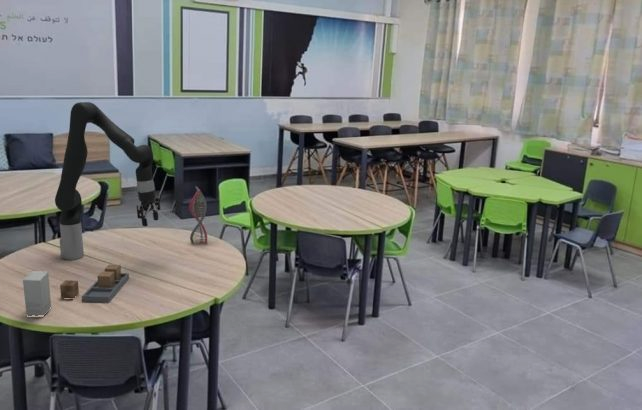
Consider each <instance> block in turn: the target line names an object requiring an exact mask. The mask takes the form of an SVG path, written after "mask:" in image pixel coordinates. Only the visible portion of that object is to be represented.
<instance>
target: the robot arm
mask: <svg viewBox="0 0 642 410" xmlns="http://www.w3.org/2000/svg"><path fill="white" fill-rule="evenodd" d="M87 124H93V125H95V126H97V127H98V128H99V129H101V130H102V131H103V133H104V134H105V135H106V137H107V138H108V140H109V141H110V142H111V143H112V144H114V145H116V146H117V147H118V148H120V149H121V150H122V151H123V153H124V154H125V155H126V157H128V158H129V160H130V161H132V162H134V163H136V164H139V165H138V166H137V167H136V168H135V178H136V189H137V197H138V201H140V205H136V214H137V219H140V220H141V224H142V225H141V226H143V227H148V219H147V217H148V215H149V212H151V211H152V218H153V220H154V221H159V211H160V210H161V203H160V198H159V197H157V196H156V187H155V181H154V179H153V171H152V169H153V161H154V153H153V149H152V148H151V146H149V145H148V144H142V145H138V146H137V145H135V139H134V138H133V137H132V136H131V135H130V134H129V133H127V132H126V131H125V130H123V129H122V128H120V127H119V126H118V125H117V124H116V123H114V122H113V121H112V120H111V119H110V117H108V116H107V115H106V114H105V113H104V112H103V111H102V110H101V109H100V108H99V107H98V106H97V105H96V104H95V103H93V102H90V101H83V102H76V103H74V104H73V105H72V107H71V110H70V117H69V129H68V136H67V143H66V148H65V152H64V157H63V164H62V170H61V176H60V181H59V183H58V187H57V191H56V193H55V196H54V202H55V206H56V208H57V209H58V210H59V211H61V215H60V216H59V219H58V220H59V229H60V230H59V231H60V238H59V250H60V258H61V259H63V260H67V261H70V260H71V261H72V260H73V261H74V260H78V259H81V258H83V257H85V256H84V255H85V253H84V252H85V251H84V240H83V230H82V216H83V207H82V205H83V201H82V196H81V193H80V192H79V191H78V190H77V189H76V188H77V184H78V182H79V180H80V178H81V176H82V174H83V172H84V169H85V167H86V163H87V159H88V158H87V157H88V145H87V143H86V140H85V133H86V128H87Z"/></svg>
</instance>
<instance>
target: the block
mask: <svg viewBox="0 0 642 410" xmlns="http://www.w3.org/2000/svg"><path fill="white" fill-rule="evenodd" d="M59 288H60V289H59V290H60V291H59V292H60V299H61V298H75V296H77V295H78V294H79V295H80V290H79V280H71V279H70V280H69V279H68V280H67V279H65V280H64V281H63V282H62V283H61V284H60V285H59ZM79 295H78V296H79ZM78 296H77V297H78ZM75 299H76V298H75Z"/></svg>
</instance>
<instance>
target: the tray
mask: <svg viewBox="0 0 642 410" xmlns="http://www.w3.org/2000/svg"><path fill="white" fill-rule="evenodd" d="M121 268H122V267H121V264H111V263H110V264H108V265H107V266H106V267H105V268H104V271H101V272H100V273H99V274H98V275H97V280H96V281H95V282H94V283H93V284H92V285H91V286H90V287H89V288H88V289H87V290H86V291H85V292H84V293H83V294H82V296H81V299H82V300H81V301H91V302H90V303H110V302H111V301H112V299H114V298H115V296H116V295H117V294H118V293H119V291H120V290H121V289H122V287H123V286H125V284H126V283H127V282H128V280H130V274H129V273H130V272H129V273H127V272H122V269H121Z"/></svg>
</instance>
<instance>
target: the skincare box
mask: <svg viewBox="0 0 642 410" xmlns="http://www.w3.org/2000/svg"><path fill="white" fill-rule="evenodd" d="M49 278H50V277H49V271H45V270H44V271H43V270H42V271H40V270H38V271H37V270H34V271H33V270H32V271H30V272H29V273H28V274H27V275H26V277H24V278H23V279H22V285H23V293H24V295H23V296H24V303H25V313H26V314H25V315H26V316H27V315H28V316H32V315H35V316H38V315H44V314H45V313H46V312H47V311H48V310H49V309H50V307H51V308H52V301H51V290H50V289H51V288H50V279H49ZM50 310H51V309H50ZM50 310H49V311H50ZM49 311H48V312H49Z"/></svg>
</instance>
